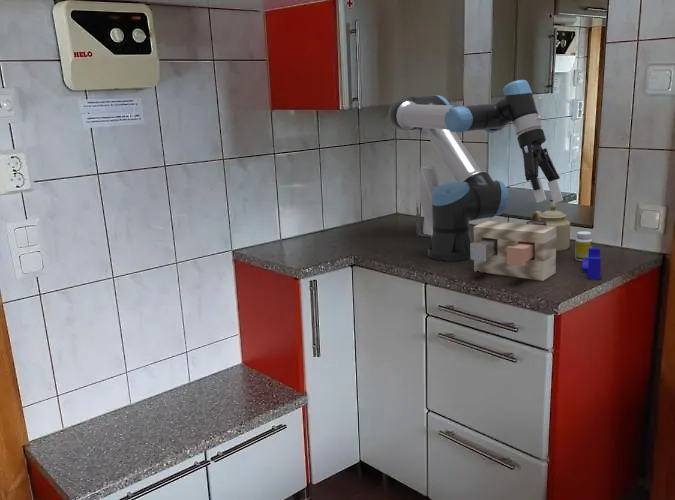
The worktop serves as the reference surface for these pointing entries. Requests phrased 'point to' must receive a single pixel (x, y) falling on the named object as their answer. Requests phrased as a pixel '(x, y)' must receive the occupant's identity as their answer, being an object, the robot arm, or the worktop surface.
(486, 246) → the grey plug
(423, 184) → the skyscraper
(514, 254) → the terracotta plug
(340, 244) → the worktop surface
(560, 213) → the sugar bowl
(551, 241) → the housing
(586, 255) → the supplement bottle
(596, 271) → the blue curved cradle
